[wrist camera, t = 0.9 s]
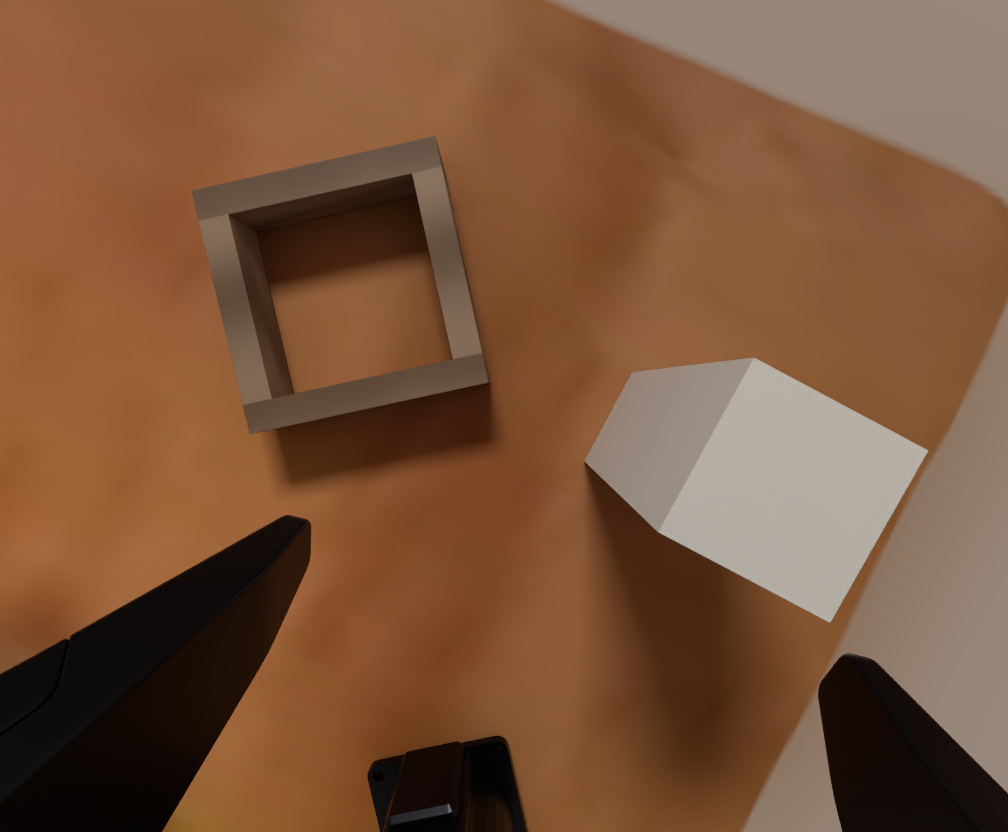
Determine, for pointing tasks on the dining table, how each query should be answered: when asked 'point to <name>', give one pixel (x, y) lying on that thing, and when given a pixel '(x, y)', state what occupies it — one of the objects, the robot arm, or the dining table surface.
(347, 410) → the rectangular frame
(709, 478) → the clay block
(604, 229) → the dining table surface
